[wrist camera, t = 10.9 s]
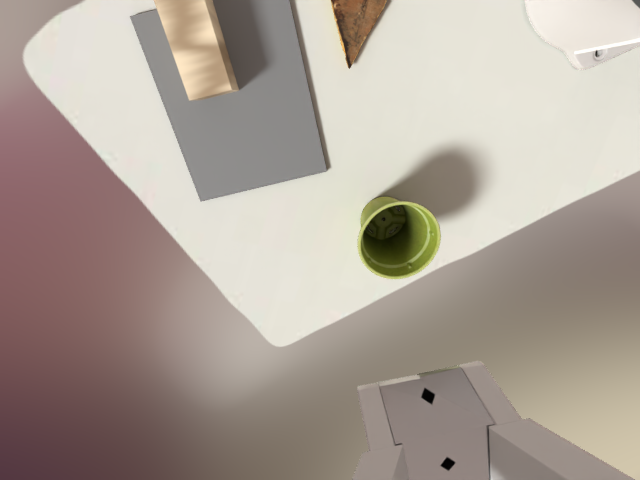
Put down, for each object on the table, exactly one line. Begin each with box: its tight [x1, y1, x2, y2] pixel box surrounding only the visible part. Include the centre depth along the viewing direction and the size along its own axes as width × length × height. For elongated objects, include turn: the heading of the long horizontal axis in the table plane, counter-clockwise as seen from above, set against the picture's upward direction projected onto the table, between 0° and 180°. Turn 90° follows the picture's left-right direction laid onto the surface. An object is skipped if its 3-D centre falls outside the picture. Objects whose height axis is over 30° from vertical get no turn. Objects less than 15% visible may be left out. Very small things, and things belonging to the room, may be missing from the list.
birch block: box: [154, 0, 239, 101], centre depth 35 cm, size 4×4×10 cm
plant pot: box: [358, 197, 441, 279], centre depth 42 cm, size 9×9×9 cm
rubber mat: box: [130, 0, 327, 201], centre depth 39 cm, size 16×20×1 cm
